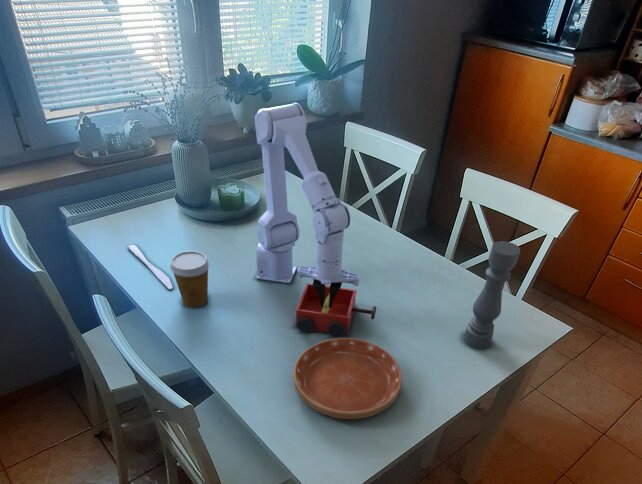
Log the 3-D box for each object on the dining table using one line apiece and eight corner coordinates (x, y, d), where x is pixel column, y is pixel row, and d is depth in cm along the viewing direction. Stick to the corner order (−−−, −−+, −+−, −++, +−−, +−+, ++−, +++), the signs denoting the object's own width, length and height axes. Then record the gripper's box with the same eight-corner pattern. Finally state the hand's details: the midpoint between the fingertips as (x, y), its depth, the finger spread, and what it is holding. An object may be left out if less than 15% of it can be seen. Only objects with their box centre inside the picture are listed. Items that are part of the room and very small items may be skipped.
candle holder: (485, 352, 120) (517, 259, 103) (459, 342, 122) (486, 250, 105) (493, 337, 124) (525, 246, 107) (468, 328, 126) (495, 237, 109)
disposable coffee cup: (220, 293, 135) (215, 253, 127) (203, 314, 129) (197, 273, 121) (187, 286, 138) (181, 246, 129) (169, 306, 131) (161, 266, 123)
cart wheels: (296, 331, 125) (296, 318, 122) (309, 297, 135) (309, 284, 132) (370, 342, 122) (371, 329, 119) (377, 307, 132) (379, 294, 129)
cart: (295, 327, 126) (296, 310, 122) (306, 299, 134) (306, 282, 130) (347, 335, 124) (348, 318, 120) (354, 307, 132) (356, 289, 128)
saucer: (320, 438, 100) (321, 426, 98) (278, 364, 116) (277, 352, 113) (420, 405, 107) (423, 393, 105) (367, 339, 123) (369, 327, 120)
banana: (325, 301, 131) (327, 288, 128) (332, 302, 130) (333, 289, 128) (319, 320, 125) (320, 307, 122) (326, 321, 124) (328, 308, 122)
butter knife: (136, 242, 152) (127, 245, 151) (177, 286, 137) (166, 289, 135) (137, 244, 153) (127, 246, 151) (177, 288, 137) (167, 291, 136)
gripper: (294, 261, 115) (294, 309, 124) (358, 269, 113) (353, 318, 122) (301, 245, 120) (300, 293, 129) (362, 253, 118) (357, 301, 127)
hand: (326, 304), depth 126 cm, fingers closed on banana, 1 cm apart
